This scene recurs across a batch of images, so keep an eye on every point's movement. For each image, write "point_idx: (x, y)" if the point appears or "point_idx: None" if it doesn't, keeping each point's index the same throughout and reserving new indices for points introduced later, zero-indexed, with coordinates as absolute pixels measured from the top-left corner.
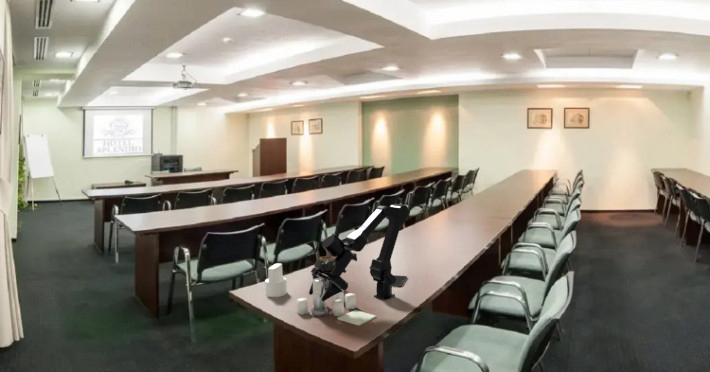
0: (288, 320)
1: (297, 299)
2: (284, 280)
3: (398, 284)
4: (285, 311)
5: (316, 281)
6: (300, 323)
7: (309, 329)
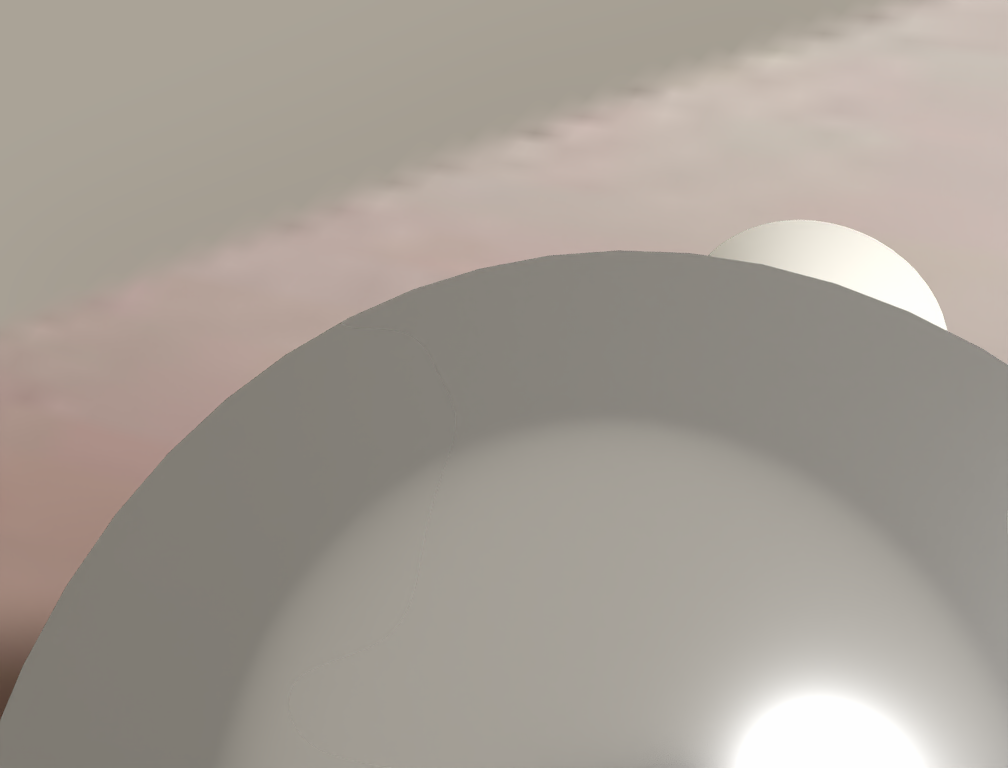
0: (493, 184)
1: (867, 239)
2: None
3: None
4: (883, 202)
5: (191, 471)
6: (304, 305)
7: (32, 369)
